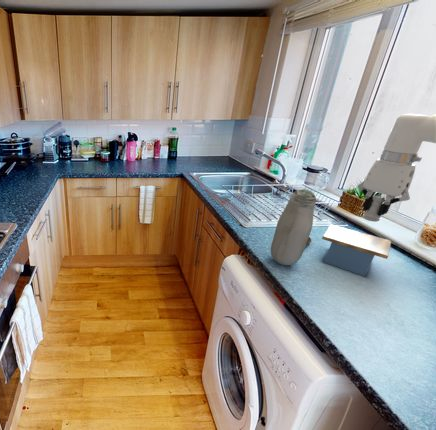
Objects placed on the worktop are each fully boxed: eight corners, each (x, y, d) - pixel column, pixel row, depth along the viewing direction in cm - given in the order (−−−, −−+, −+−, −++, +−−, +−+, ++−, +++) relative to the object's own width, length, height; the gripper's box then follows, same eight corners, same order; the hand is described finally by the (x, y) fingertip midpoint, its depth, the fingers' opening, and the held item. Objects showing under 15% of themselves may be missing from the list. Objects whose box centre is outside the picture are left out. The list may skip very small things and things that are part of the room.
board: (389, 243, 101) (391, 240, 101) (386, 259, 92) (388, 255, 92) (329, 226, 113) (330, 224, 112) (321, 239, 104) (322, 236, 103)
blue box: (368, 262, 106) (378, 241, 103) (364, 276, 99) (375, 254, 95) (330, 250, 114) (338, 230, 110) (324, 262, 106) (332, 241, 102)
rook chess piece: (366, 221, 94) (376, 198, 90) (359, 215, 98) (368, 193, 94) (382, 222, 93) (392, 199, 90) (374, 217, 97) (383, 195, 94)
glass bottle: (296, 273, 99) (322, 198, 88) (264, 262, 105) (285, 191, 93) (300, 260, 107) (325, 190, 95) (270, 251, 112) (290, 183, 100)
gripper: (439, 162, 81) (410, 220, 89) (371, 150, 95) (351, 202, 103) (427, 165, 78) (398, 224, 86) (359, 152, 92) (339, 205, 100)
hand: (373, 211), depth 94 cm, fingers closed on rook chess piece, 3 cm apart
